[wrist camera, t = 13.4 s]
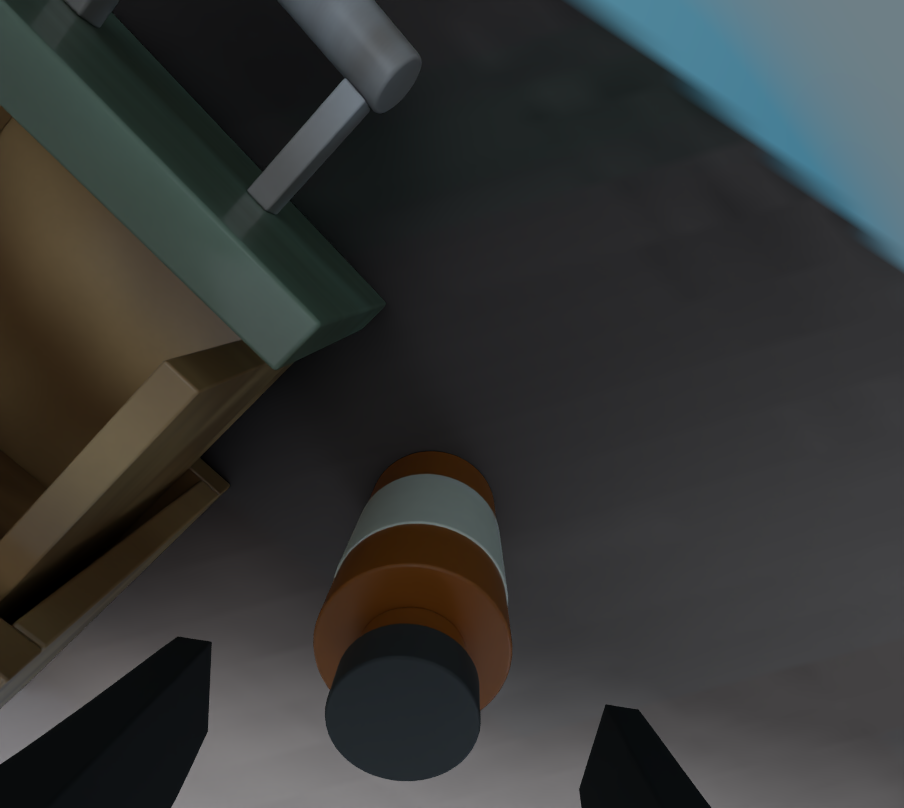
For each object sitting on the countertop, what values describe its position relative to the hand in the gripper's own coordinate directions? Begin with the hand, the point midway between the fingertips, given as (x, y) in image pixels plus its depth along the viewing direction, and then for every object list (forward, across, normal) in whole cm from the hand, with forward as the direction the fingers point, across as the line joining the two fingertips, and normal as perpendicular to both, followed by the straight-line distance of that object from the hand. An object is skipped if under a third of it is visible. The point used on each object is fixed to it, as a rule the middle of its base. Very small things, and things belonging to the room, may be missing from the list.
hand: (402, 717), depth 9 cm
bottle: (+9, 0, 0) cm, 9 cm away
